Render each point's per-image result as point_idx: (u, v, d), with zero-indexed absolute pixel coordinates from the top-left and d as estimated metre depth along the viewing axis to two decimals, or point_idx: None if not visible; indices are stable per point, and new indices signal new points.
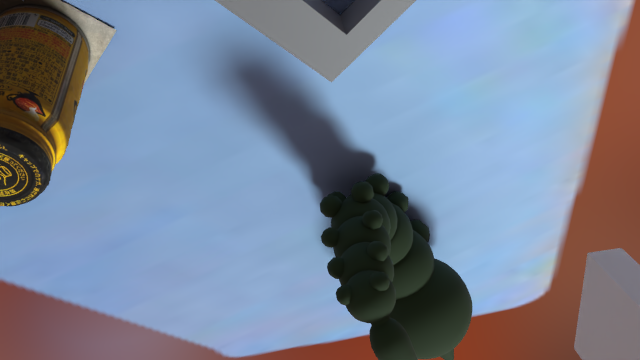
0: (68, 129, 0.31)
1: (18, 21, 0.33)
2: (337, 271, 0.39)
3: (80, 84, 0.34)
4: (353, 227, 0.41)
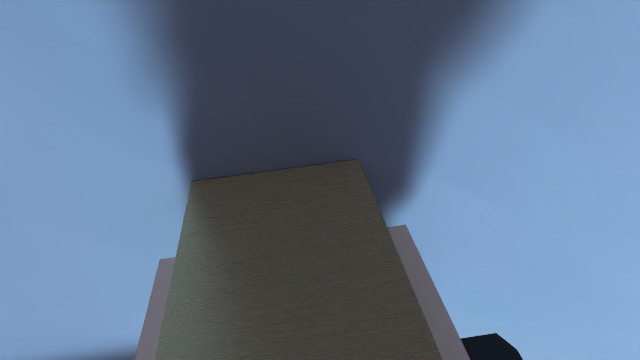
0: None
1: None
2: None
3: None
4: None
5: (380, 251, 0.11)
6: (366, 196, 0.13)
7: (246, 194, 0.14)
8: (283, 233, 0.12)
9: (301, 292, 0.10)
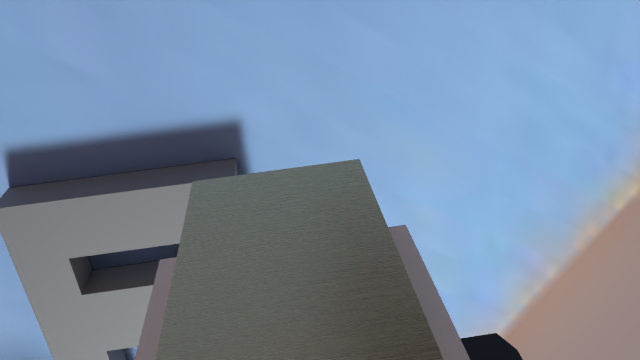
0: None
1: None
2: None
3: None
4: None
5: (380, 251, 0.11)
6: (367, 196, 0.13)
7: (247, 194, 0.14)
8: (284, 233, 0.12)
9: (302, 292, 0.10)
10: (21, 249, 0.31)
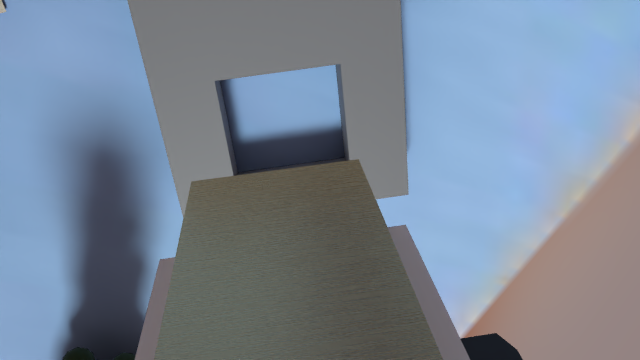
0: None
1: None
2: None
3: None
4: None
5: (380, 251, 0.11)
6: (366, 196, 0.13)
7: (246, 195, 0.14)
8: (283, 233, 0.12)
9: (301, 292, 0.10)
10: None
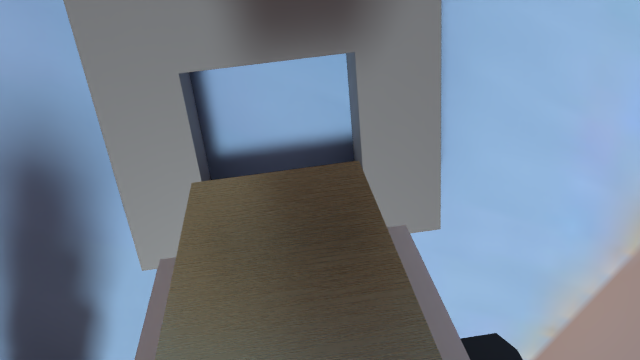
0: None
1: None
2: None
3: None
4: None
5: (380, 253, 0.11)
6: (366, 198, 0.13)
7: (246, 196, 0.14)
8: (283, 235, 0.12)
9: (302, 294, 0.10)
10: None
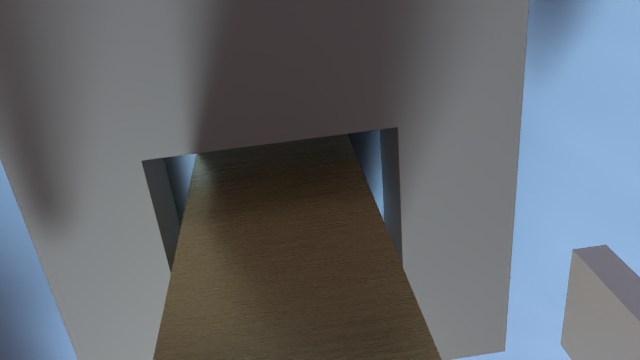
0: None
1: None
2: None
3: None
4: None
5: (361, 203, 0.13)
6: (351, 161, 0.15)
7: (245, 162, 0.16)
8: (278, 191, 0.14)
9: (293, 234, 0.12)
10: None
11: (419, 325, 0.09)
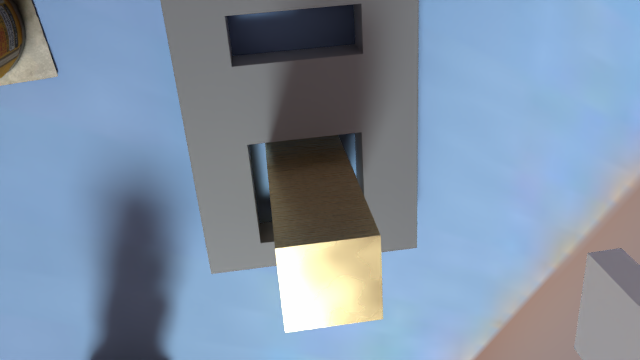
0: None
1: None
2: None
3: None
4: None
5: (344, 164, 0.31)
6: (340, 147, 0.33)
7: (290, 147, 0.33)
8: (307, 159, 0.32)
9: (316, 174, 0.30)
10: None
11: (363, 200, 0.27)
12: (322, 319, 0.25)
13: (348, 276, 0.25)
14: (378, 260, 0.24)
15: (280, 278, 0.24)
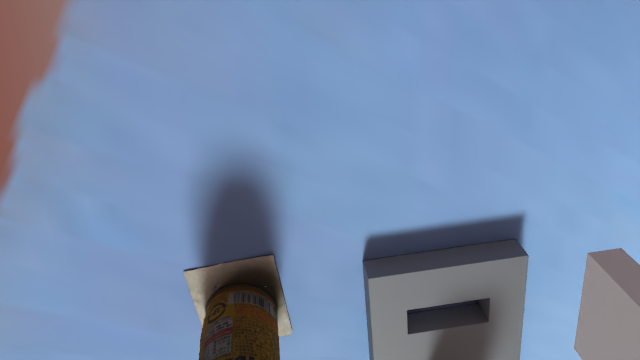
0: None
1: (266, 306, 0.45)
2: None
3: None
4: None
5: None
6: None
7: None
8: None
9: None
10: (378, 304, 0.46)
11: None
12: None
13: None
14: None
15: None
